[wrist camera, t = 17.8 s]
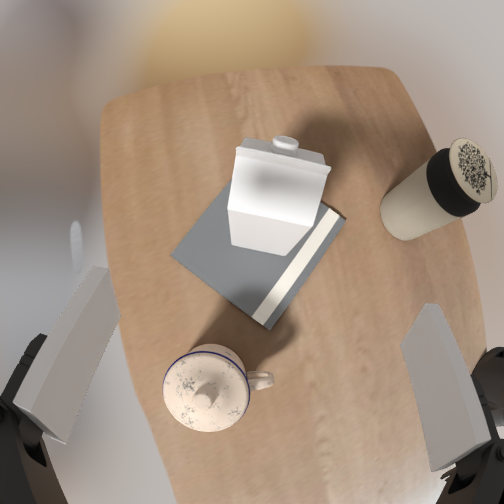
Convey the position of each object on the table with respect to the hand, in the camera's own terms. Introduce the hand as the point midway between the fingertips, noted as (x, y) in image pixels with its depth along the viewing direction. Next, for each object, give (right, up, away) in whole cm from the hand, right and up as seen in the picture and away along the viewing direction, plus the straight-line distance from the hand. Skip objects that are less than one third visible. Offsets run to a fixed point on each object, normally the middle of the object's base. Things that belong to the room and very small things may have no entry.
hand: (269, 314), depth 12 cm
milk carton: (+1, +6, +28) cm, 29 cm away
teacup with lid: (-4, -13, +25) cm, 29 cm away
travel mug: (+22, +8, +30) cm, 38 cm away
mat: (0, +4, +28) cm, 29 cm away
